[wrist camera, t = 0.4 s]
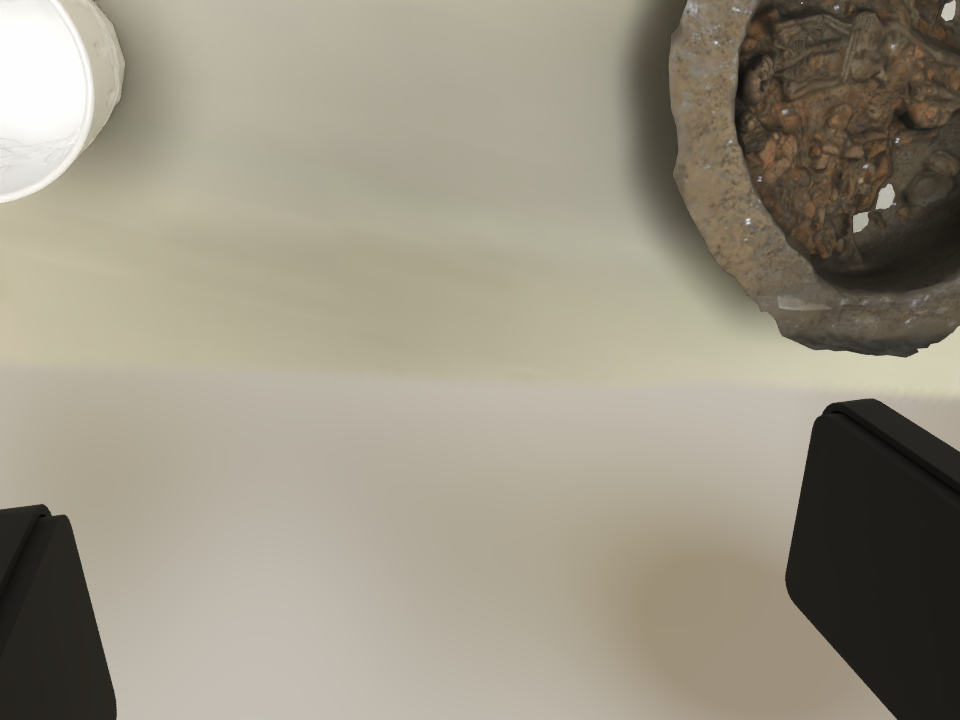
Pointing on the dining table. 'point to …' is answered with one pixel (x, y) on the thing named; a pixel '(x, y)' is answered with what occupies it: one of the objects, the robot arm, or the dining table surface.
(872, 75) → the stone bowl
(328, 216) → the dining table surface
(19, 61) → the white cup
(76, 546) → the robot arm
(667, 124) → the dining table surface
